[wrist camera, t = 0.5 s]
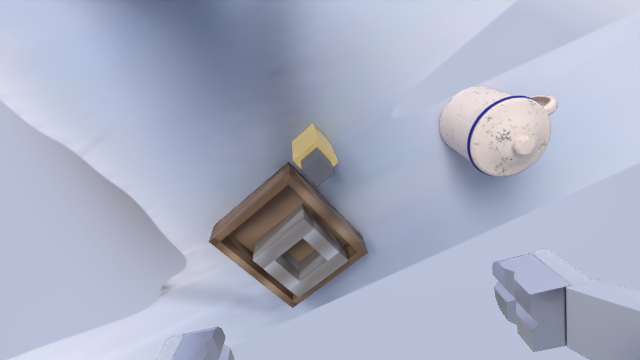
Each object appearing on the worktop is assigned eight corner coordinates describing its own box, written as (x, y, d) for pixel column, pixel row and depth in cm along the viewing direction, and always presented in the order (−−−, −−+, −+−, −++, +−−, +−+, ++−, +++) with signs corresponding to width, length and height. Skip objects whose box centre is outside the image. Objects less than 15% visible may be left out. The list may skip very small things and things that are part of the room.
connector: (291, 141, 44) (293, 170, 35) (312, 123, 43) (320, 148, 34) (310, 160, 45) (316, 193, 36) (330, 143, 45) (342, 172, 36)
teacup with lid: (449, 163, 47) (496, 202, 37) (426, 105, 44) (471, 130, 33) (531, 121, 46) (605, 150, 35) (515, 58, 42) (592, 68, 32)
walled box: (214, 225, 48) (207, 246, 43) (288, 162, 45) (289, 176, 41) (292, 289, 54) (292, 313, 49) (361, 236, 51) (369, 256, 46)
